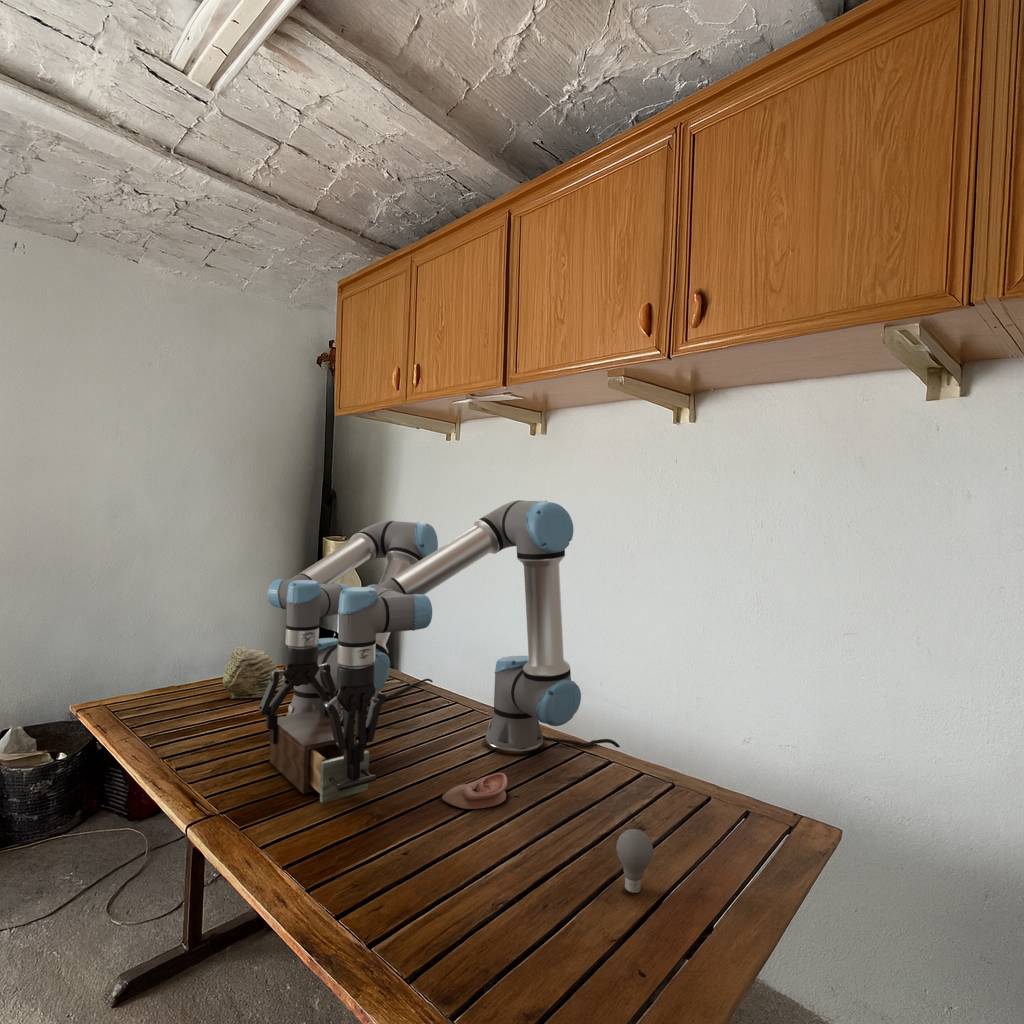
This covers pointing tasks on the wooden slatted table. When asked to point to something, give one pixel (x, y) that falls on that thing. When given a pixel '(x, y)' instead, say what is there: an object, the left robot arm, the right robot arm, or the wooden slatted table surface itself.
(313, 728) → the cabinet
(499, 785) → the anatomical model
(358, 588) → the right robot arm
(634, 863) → the light bulb
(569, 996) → the wooden slatted table surface
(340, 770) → the drawer
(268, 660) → the fossil
